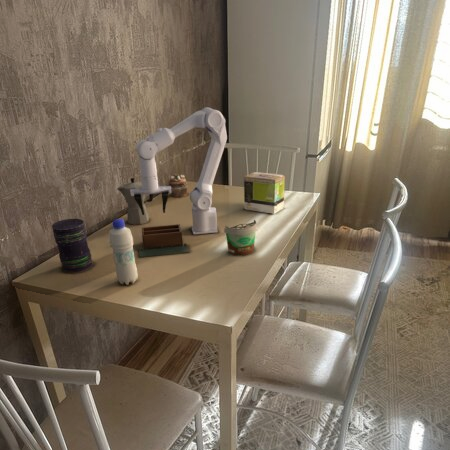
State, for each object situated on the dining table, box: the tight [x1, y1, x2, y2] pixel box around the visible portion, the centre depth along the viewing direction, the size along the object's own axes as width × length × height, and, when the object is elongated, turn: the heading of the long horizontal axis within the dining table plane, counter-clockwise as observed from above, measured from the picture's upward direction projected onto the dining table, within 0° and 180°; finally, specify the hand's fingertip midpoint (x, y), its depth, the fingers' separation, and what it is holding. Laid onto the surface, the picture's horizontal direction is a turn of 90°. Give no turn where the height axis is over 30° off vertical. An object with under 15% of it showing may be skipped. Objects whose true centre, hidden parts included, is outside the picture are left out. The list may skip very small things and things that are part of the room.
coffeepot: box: [116, 177, 155, 225], centre depth 170 cm, size 15×9×18 cm, turn 113°
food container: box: [223, 219, 259, 256], centre depth 141 cm, size 12×6×10 cm, turn 118°
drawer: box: [141, 223, 184, 249], centre depth 152 cm, size 5×14×11 cm
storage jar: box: [51, 218, 94, 274], centre depth 134 cm, size 10×10×15 cm
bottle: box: [108, 218, 139, 286], centre depth 123 cm, size 7×7×20 cm
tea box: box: [243, 171, 286, 215], centre depth 179 cm, size 15×10×15 cm, turn 58°
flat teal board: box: [138, 242, 190, 258], centre depth 147 cm, size 7×17×1 cm, turn 100°
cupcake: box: [168, 173, 189, 198], centre depth 203 cm, size 10×10×10 cm
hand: (153, 213), depth 153 cm, fingers open, 7 cm apart
